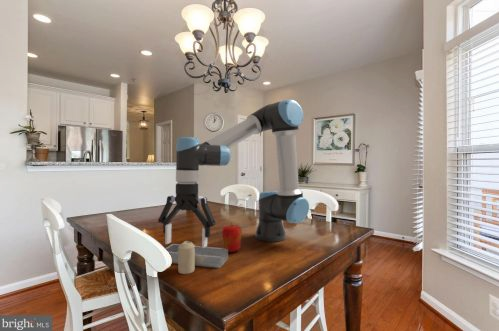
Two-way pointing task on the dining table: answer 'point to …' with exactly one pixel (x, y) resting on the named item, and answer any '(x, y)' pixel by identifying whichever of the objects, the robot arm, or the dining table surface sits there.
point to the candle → (186, 257)
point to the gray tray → (202, 255)
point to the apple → (232, 237)
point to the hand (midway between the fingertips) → (186, 244)
